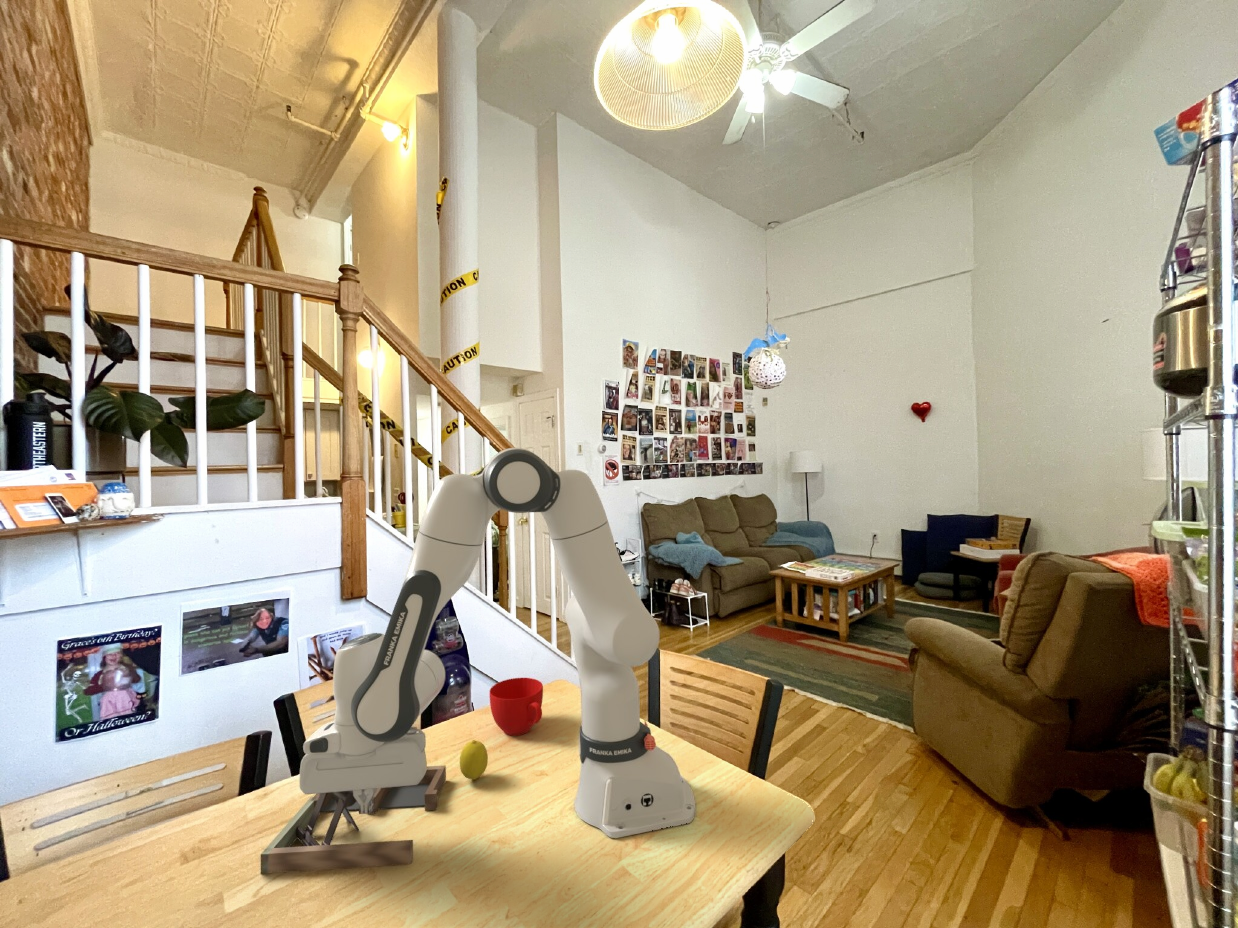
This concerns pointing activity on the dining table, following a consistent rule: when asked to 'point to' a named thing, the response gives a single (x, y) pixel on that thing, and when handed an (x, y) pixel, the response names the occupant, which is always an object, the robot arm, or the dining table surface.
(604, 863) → the dining table surface
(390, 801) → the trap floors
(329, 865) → the channel
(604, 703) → the robot arm
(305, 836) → the portable electronic device stand
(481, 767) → the lemon
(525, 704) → the ceramic cup
